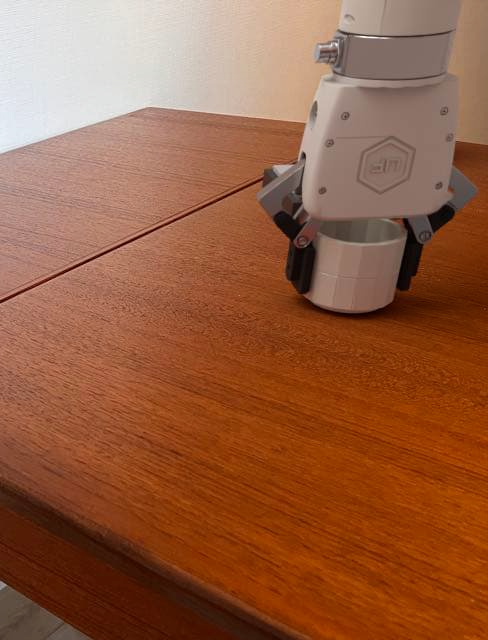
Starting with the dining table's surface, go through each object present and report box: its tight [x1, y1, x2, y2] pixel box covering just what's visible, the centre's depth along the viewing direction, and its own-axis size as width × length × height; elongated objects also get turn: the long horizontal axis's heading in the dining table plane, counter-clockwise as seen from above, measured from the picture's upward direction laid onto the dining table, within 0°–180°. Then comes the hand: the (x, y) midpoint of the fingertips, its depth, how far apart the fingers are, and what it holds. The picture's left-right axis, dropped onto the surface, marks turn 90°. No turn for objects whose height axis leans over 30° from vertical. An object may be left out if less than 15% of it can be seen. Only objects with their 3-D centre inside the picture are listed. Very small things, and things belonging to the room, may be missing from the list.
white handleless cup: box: [302, 219, 408, 314], centre depth 69 cm, size 7×7×6 cm
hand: (347, 284), depth 70 cm, fingers closed on white handleless cup, 7 cm apart
